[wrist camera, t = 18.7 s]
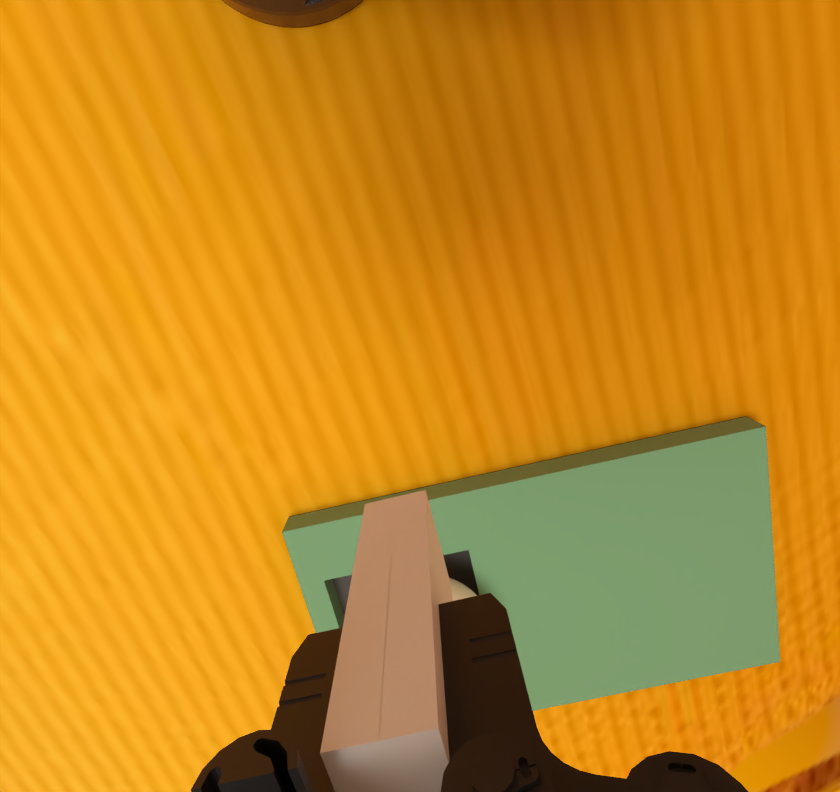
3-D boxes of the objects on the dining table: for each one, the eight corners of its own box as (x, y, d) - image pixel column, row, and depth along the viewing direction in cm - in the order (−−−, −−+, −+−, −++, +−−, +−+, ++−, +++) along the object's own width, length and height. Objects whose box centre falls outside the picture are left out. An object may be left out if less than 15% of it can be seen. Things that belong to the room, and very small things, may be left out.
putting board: (746, 416, 43) (765, 426, 41) (762, 641, 49) (780, 661, 47) (289, 516, 45) (282, 532, 43) (356, 722, 51) (354, 746, 48)
